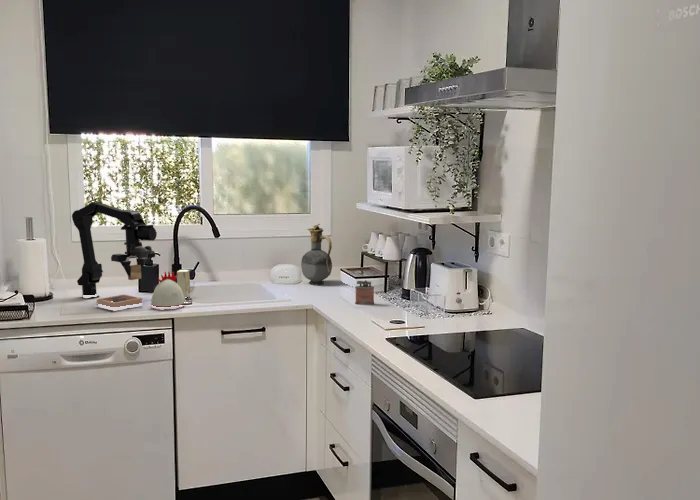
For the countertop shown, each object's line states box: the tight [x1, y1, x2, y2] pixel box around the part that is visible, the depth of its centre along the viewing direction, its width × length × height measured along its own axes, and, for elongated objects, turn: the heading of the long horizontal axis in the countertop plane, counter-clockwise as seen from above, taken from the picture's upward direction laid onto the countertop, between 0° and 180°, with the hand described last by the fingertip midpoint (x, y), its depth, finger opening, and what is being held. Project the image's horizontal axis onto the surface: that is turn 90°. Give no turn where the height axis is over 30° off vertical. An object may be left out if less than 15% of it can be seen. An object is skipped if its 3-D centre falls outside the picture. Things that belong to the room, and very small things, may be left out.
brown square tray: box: [96, 293, 143, 307], centre depth 280 cm, size 13×13×4 cm
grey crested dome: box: [150, 271, 186, 307], centre depth 280 cm, size 14×14×15 cm
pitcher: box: [300, 223, 333, 286], centre depth 328 cm, size 11×19×30 cm, turn 42°
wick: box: [127, 264, 142, 281], centre depth 292 cm, size 2×5×6 cm, turn 142°
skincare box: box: [176, 269, 191, 298], centre depth 299 cm, size 6×4×12 cm
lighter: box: [354, 279, 375, 306], centre depth 283 cm, size 8×3×10 cm, turn 84°
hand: (134, 275), depth 292 cm, fingers closed on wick, 5 cm apart
